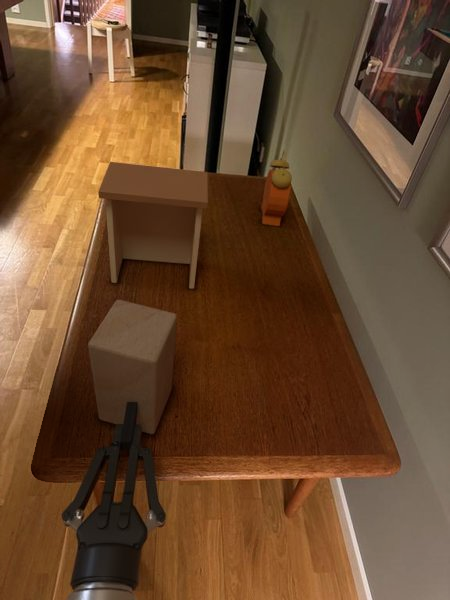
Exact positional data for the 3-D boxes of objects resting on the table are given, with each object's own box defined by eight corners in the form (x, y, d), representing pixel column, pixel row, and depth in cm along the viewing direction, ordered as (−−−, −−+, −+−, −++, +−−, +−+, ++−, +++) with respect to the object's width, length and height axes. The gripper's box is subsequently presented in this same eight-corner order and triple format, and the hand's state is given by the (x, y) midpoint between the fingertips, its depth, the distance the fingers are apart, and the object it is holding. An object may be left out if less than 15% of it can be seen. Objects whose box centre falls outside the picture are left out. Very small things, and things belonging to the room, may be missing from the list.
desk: (197, 294, 95) (208, 202, 79) (106, 287, 93) (98, 191, 76) (197, 260, 105) (207, 172, 88) (115, 253, 102) (110, 161, 86)
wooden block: (98, 420, 68) (86, 343, 55) (121, 374, 76) (116, 297, 62) (154, 436, 68) (156, 362, 54) (172, 388, 75) (178, 313, 62)
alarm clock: (281, 229, 122) (298, 166, 108) (261, 226, 121) (276, 163, 108) (278, 207, 131) (293, 147, 118) (259, 204, 131) (273, 144, 117)
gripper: (48, 599, 47) (91, 417, 64) (161, 598, 48) (173, 421, 65) (36, 583, 42) (86, 390, 59) (163, 582, 43) (175, 395, 60)
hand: (132, 406), depth 62 cm, fingers closed
